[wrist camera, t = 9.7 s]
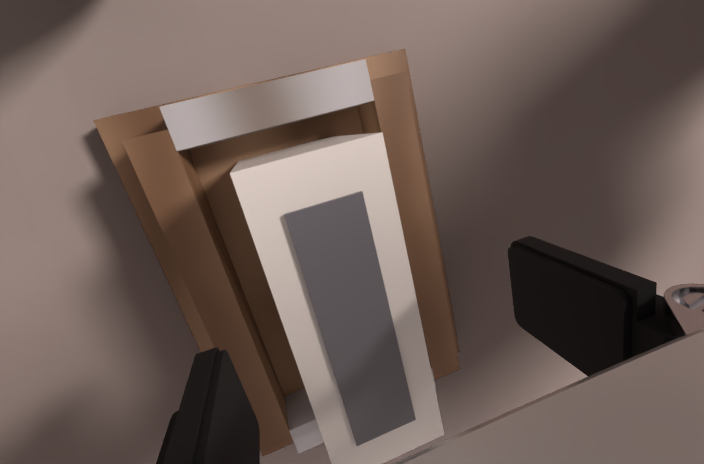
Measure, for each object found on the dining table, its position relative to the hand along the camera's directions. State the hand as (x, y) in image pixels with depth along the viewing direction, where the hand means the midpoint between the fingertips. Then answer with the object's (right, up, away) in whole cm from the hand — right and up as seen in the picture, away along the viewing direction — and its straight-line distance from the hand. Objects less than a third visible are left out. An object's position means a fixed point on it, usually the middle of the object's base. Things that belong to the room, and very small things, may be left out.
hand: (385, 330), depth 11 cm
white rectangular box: (-3, +1, +7) cm, 8 cm away
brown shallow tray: (-3, +2, +8) cm, 9 cm away
